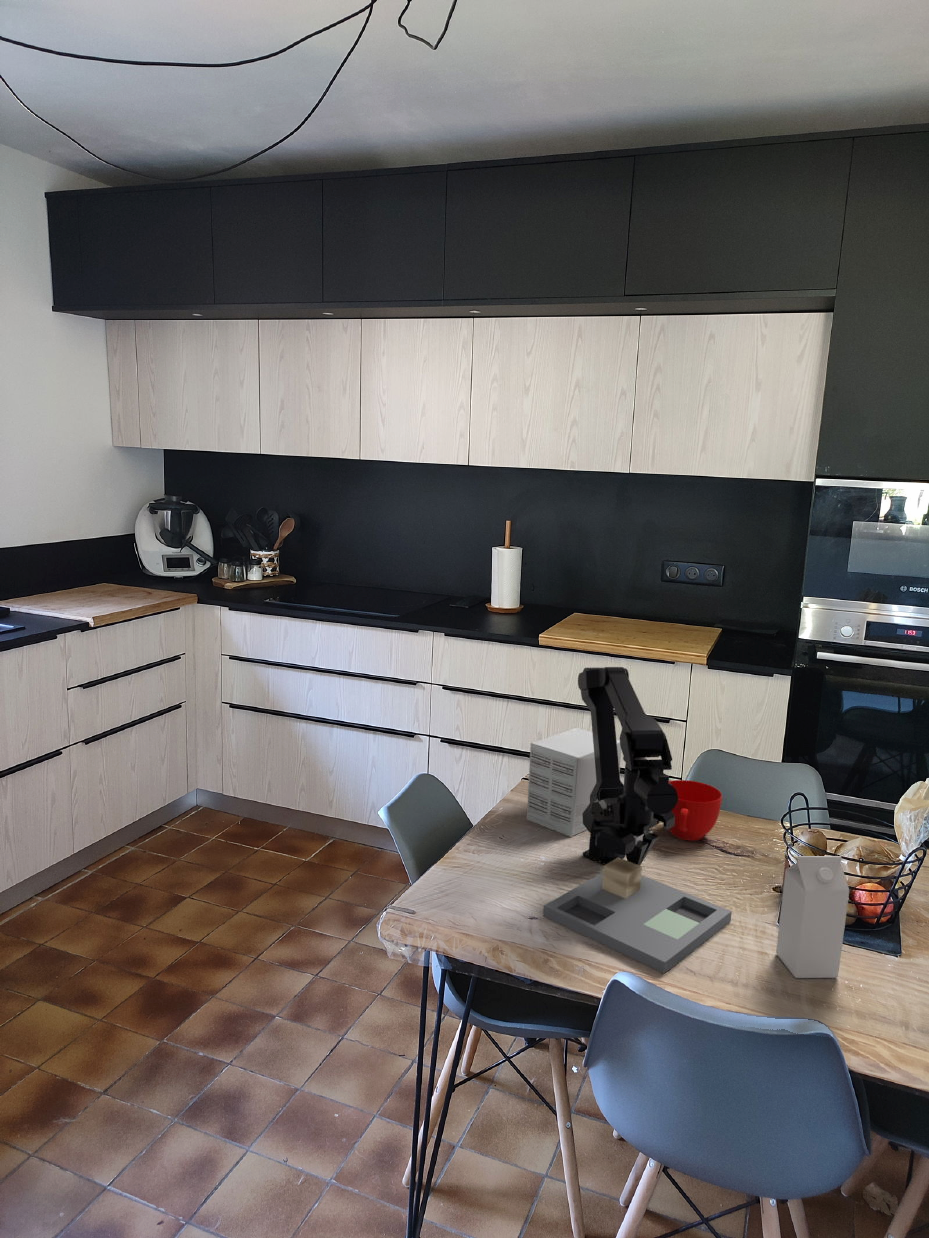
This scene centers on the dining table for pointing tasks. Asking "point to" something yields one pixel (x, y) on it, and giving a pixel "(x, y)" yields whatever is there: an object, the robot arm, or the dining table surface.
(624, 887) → the maple block
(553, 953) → the dining table surface
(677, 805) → the ceramic cup
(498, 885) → the dining table surface
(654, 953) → the board
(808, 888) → the milk carton
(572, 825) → the supplement box
